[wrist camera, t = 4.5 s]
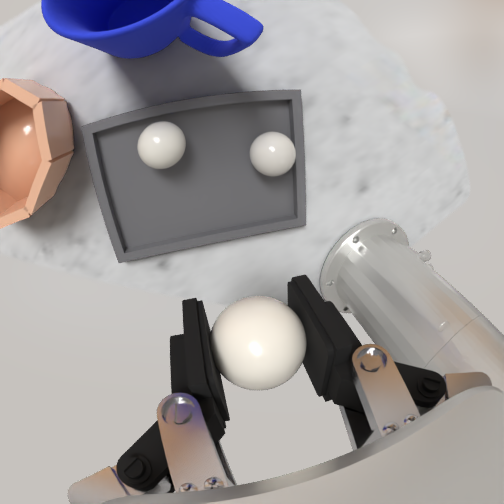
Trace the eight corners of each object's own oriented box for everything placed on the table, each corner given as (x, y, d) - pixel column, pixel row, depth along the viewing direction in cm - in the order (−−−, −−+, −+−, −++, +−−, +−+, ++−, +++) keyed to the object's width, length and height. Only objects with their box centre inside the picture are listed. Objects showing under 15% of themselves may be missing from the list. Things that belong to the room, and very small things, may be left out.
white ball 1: (182, 116, 18) (182, 117, 16) (188, 159, 20) (190, 168, 17) (137, 126, 18) (129, 129, 15) (145, 168, 20) (139, 179, 17)
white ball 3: (287, 268, 11) (326, 332, 8) (289, 331, 12) (317, 392, 9) (196, 287, 10) (205, 361, 7) (213, 348, 12) (226, 415, 9)
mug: (200, 105, 19) (215, 100, 10) (74, 51, 13) (12, 25, 5) (256, 27, 16) (310, -18, 8) (132, -26, 11) (113, -89, 2)
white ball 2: (284, 128, 21) (302, 132, 18) (287, 168, 23) (304, 178, 20) (242, 132, 20) (254, 136, 17) (247, 173, 22) (258, 184, 19)
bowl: (65, 65, 14) (38, 57, 9) (85, 184, 19) (64, 204, 15) (-22, 114, 12) (-54, 122, 8) (0, 216, 17) (-26, 239, 13)
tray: (294, 90, 20) (300, 89, 19) (300, 220, 26) (306, 225, 25) (86, 125, 17) (81, 126, 16) (120, 256, 23) (118, 263, 22)
